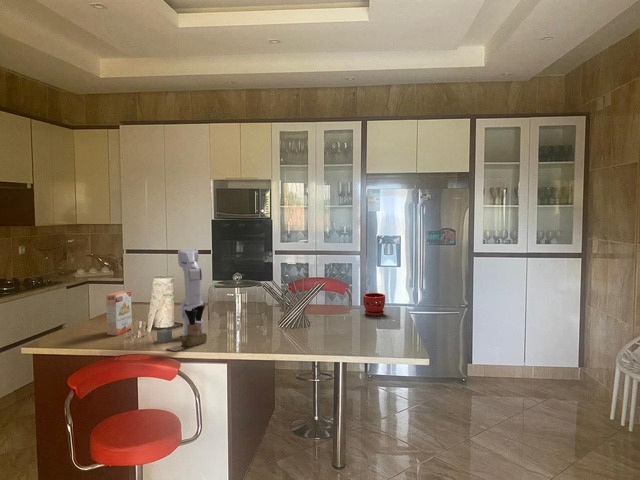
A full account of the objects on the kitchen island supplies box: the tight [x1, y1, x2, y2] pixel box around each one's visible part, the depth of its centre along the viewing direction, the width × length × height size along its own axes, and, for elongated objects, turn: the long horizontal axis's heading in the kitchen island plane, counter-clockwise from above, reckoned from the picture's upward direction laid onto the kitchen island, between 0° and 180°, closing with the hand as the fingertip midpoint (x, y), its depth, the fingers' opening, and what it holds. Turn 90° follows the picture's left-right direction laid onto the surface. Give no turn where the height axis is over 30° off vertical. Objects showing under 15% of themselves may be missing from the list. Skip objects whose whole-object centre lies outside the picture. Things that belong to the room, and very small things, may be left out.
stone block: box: [181, 332, 208, 348], centre depth 238 cm, size 6×12×5 cm, turn 139°
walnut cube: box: [187, 323, 202, 336], centre depth 237 cm, size 5×5×5 cm
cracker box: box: [105, 290, 133, 337], centre depth 260 cm, size 14×6×21 cm, turn 168°
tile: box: [165, 345, 187, 353], centre depth 229 cm, size 6×6×1 cm
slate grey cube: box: [156, 328, 173, 344], centre depth 244 cm, size 5×5×5 cm
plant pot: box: [362, 292, 386, 317], centre depth 299 cm, size 13×13×12 cm
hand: (195, 322), depth 237 cm, fingers open, 7 cm apart
